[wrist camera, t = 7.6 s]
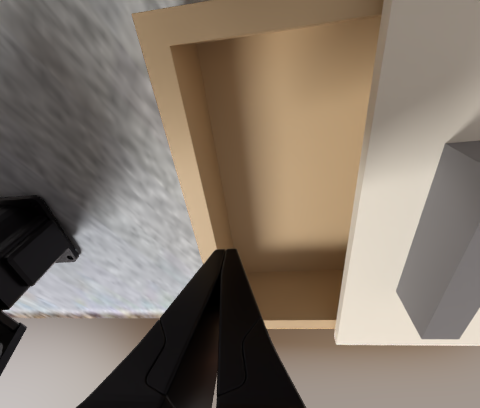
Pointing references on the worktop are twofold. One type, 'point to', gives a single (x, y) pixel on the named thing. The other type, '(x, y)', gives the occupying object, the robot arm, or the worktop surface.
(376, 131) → the lid
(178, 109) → the box
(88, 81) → the worktop surface
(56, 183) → the worktop surface
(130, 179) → the worktop surface
